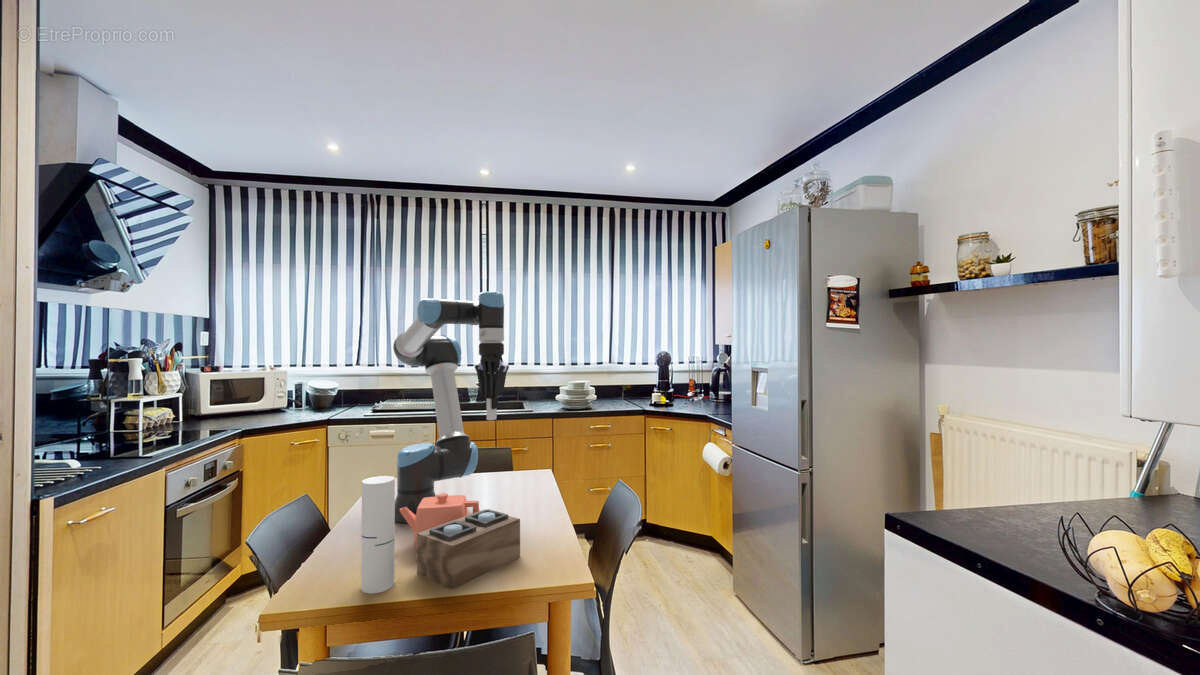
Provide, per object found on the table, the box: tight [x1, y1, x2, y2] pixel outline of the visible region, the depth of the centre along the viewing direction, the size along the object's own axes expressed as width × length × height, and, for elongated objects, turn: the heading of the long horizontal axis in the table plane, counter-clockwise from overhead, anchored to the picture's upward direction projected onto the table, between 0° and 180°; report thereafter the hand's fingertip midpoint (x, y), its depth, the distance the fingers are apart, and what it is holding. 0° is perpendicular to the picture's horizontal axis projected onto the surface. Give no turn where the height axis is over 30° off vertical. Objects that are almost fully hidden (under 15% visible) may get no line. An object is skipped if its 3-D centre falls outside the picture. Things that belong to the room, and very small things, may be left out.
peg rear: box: [478, 512, 495, 521], centre depth 131 cm, size 4×4×9 cm
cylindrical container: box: [360, 475, 396, 594], centre depth 115 cm, size 7×7×25 cm
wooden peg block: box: [416, 508, 521, 590], centre depth 126 cm, size 14×22×11 cm, turn 144°
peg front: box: [444, 524, 462, 535], centre depth 122 cm, size 4×4×9 cm
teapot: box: [400, 492, 480, 548], centre depth 140 cm, size 22×13×14 cm, turn 101°
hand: (491, 419), depth 148 cm, fingers closed
